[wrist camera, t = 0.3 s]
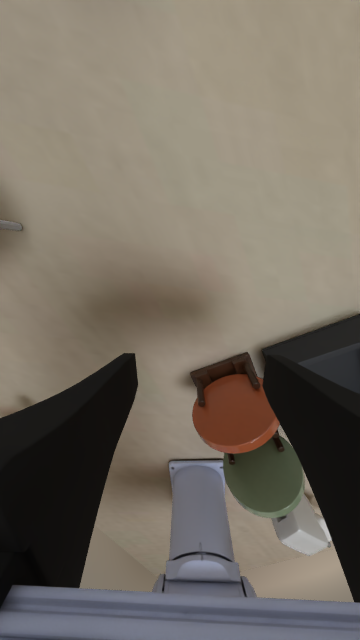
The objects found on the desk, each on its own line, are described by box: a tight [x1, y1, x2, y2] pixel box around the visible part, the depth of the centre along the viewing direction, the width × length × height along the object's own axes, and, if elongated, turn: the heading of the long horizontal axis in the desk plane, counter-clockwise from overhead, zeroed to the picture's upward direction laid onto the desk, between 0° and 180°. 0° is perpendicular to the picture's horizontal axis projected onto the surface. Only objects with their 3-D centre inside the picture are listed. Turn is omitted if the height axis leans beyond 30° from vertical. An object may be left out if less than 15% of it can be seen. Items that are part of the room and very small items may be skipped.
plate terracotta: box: [192, 374, 280, 454], centre depth 18 cm, size 1×8×8 cm, turn 114°
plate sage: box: [223, 436, 305, 518], centre depth 20 cm, size 1×8×8 cm, turn 114°
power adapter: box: [271, 493, 332, 556], centre depth 27 cm, size 11×5×6 cm, turn 55°
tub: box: [262, 314, 360, 394], centre depth 20 cm, size 12×11×4 cm
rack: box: [190, 352, 285, 465], centre depth 21 cm, size 12×7×5 cm, turn 24°
